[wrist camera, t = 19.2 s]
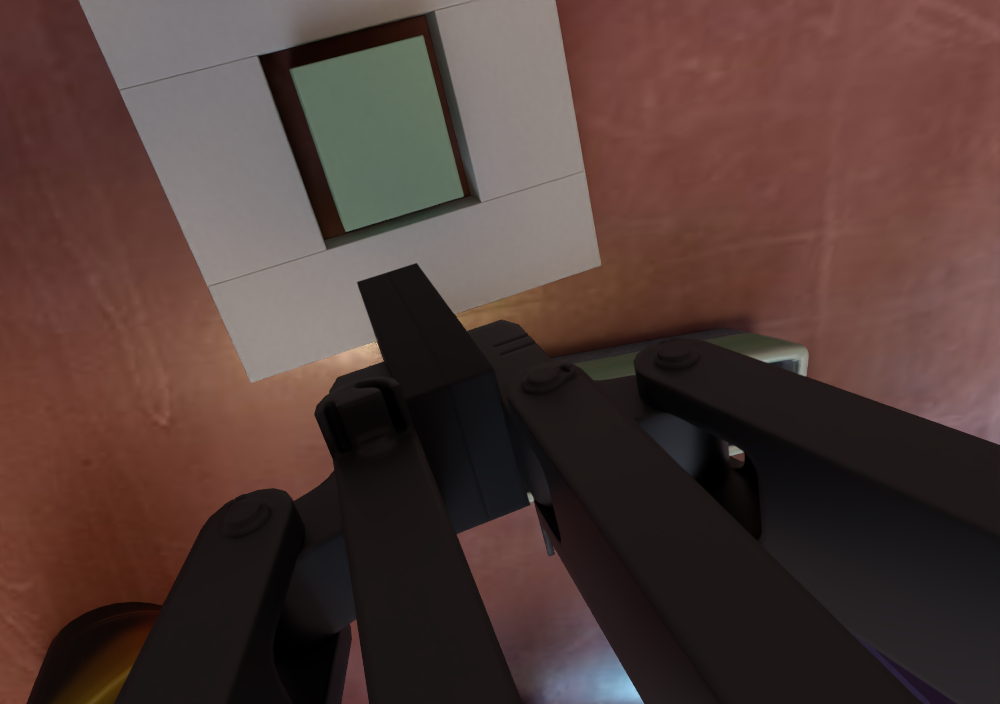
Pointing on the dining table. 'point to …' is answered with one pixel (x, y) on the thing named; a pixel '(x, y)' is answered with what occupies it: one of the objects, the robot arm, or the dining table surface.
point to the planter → (750, 344)
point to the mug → (94, 655)
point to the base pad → (279, 185)
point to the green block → (379, 131)
